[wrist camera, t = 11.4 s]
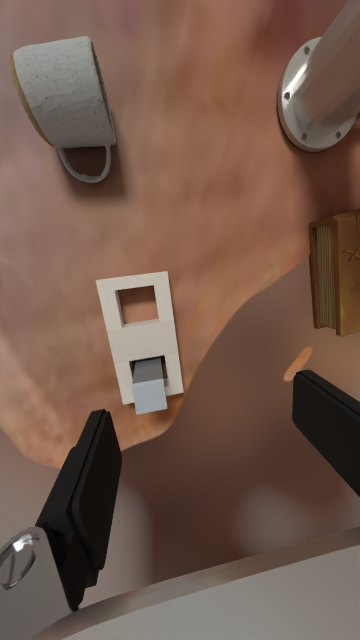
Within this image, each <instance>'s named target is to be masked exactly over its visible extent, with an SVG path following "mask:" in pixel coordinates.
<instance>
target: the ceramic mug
mask: <svg viewBox="0 0 360 640" xmlns="http://www.w3.org/2000/svg"><path fill="white" fill-rule="evenodd" d="M10 69H11V74H12V78H13V81H14V84H15V87H16V90H17V92H18V95H19V97H20V100H21V102H22V104H23V106H24V108H25V110H26V113H27V115H28V117H29V119H30V120H31V122H32V124H33V126H34V127H35V129H36V131H37V132H38V133H39V135H40V136H41V137H42V138H43V139H44V140H45V141H46V142H47V143H48V144H50V145H51V146H54V147H56V148H57V149H58V153H59V155H60V158H61V160H62V162H63V164H64V166H65V167H66V168H67V170H68V171H69V172H70V173H71V174H72V175H73V176H74V177H75V178H77V179H79V180H80V181H82V182H87V183H97V182H100V181H102V180H103V179H104V178H106V176H107V174H108V172H109V169H110V165H111V152H110V146H111V145H115V144H116V138H115V132H114V126H113V121H112V117H111V112H110V107H109V103H108V99H107V94H106V90H105V86H104V82H103V78H102V75H101V70H100V67H99V63H98V60H97V56H96V53H95V50H94V47H93V43H92V41H91V39H90V38H89V37H88V36H83V37H78V38H73V39H66V40H59V41H53V42H48V43H43V44H35V45H29V46H24V47H22V48H20V49H18V50H16V51H14V52H12V54H11V57H10ZM95 146H105V148H106V165H105V168H104V170H103V172H102V174H101V176H88V175H85V174H79V173H77V172H76V171H75V170H74V169H73V168H72V167H71V165H70V164H69V162H68V160H67V158H66V156H65V153H64V148H79V147H95Z"/></svg>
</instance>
